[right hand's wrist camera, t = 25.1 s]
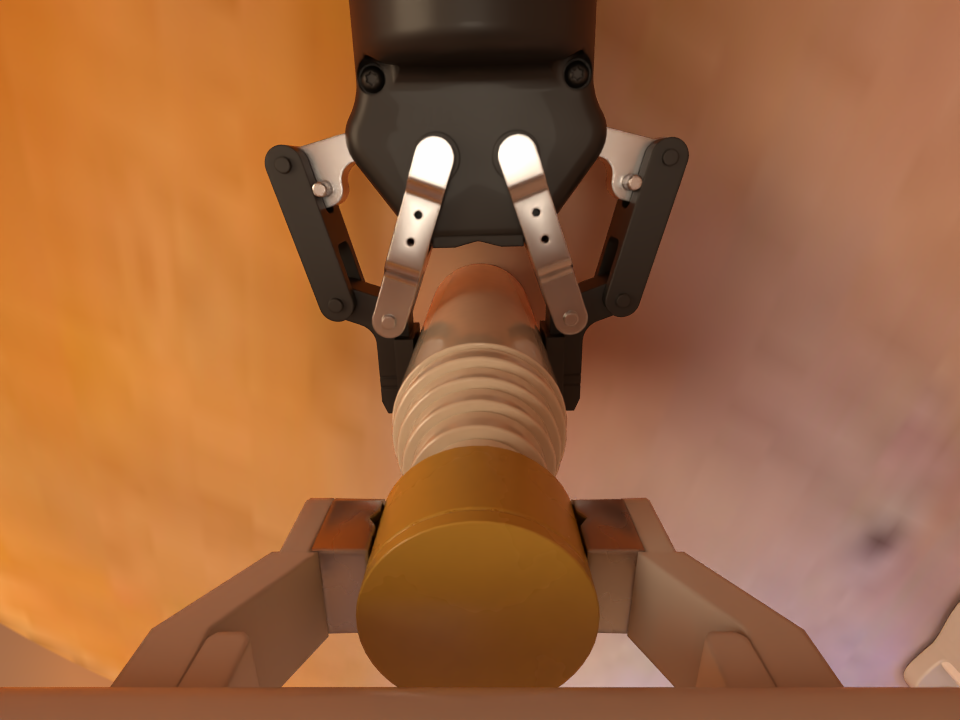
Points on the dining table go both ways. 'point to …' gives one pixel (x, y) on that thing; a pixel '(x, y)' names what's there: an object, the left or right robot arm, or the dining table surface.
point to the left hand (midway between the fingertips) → (482, 415)
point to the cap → (477, 576)
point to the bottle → (479, 375)
